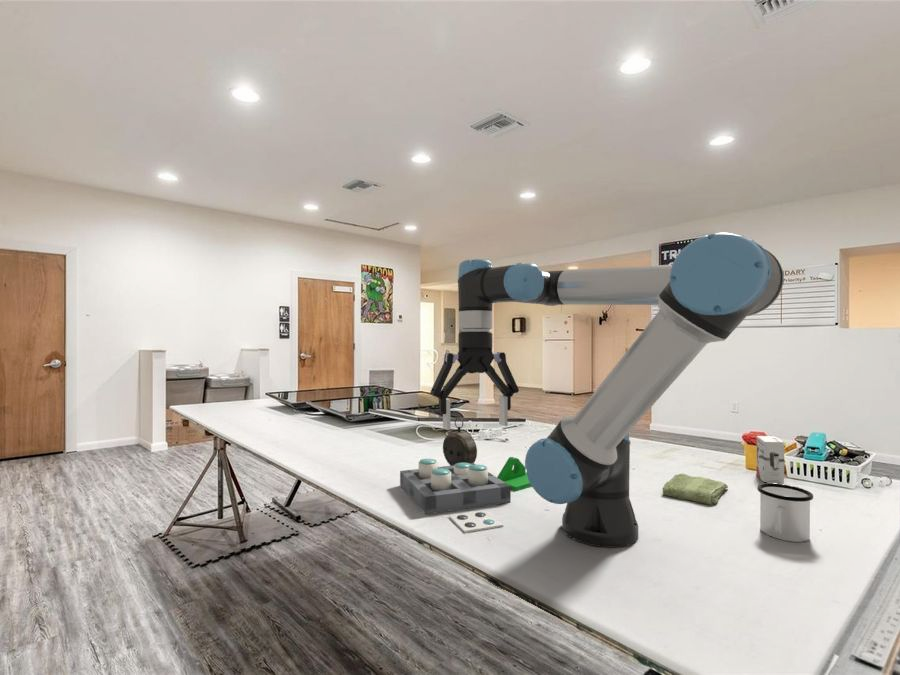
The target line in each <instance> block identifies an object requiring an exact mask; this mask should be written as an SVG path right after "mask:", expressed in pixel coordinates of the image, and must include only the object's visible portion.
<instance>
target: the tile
mask: <svg viewBox="0 0 900 675" xmlns="http://www.w3.org/2000/svg"><path fill="white" fill-rule="evenodd" d="M448 517H449V519H450V520H451V521H453V523H455V525H456V526H457V527H458V528H459V529H460V530H461V531H462V532H463V533H465V534H467V533H471V532H472V533H473V532H478V531H486V530H491V529H498V528H502V527H504V524H503V523H502V522H501V521H499V520H498V519H497V518H496V517H494V515H492V514H491V513H489V512H488V511H487V510H486V509H485V510H477V511H471V512H469V511H468V512H464V513H458V514H457V513H455V514H449V515H448Z"/></svg>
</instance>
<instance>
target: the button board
mask: <svg viewBox="0 0 900 675" xmlns="http://www.w3.org/2000/svg"><path fill="white" fill-rule="evenodd" d="M471 465H477V464H476V463H475V462H474V463H472V464H471ZM439 468H443V469H448V470H450V472H451V490H443V491H435V492H434V491H432V490H431V478H430V479H419V468H417V469H406V470H400V471H399V486H400V487H401V489H402V490H404V492H405V493H406V494H407V496H409V497H410V499H411V501H413V503H415V504H416V505H417V507H418V508H419V509H420V510H421V511H422V512H423V514H424V515H430V514H436V513H443V512H450V511H451V512H452V511H458V510H464V509H465V510H466V509H472V508H479V507H486V506H493V505H501V504H508V503H511V501H512V500H511V493H512V491H511V486H510V485H508V484H507V483H505V482H503V481H502V480H500V479H499V478H497V476H495V475H494V474H492V473H490V472H489V471H488V485H483V486H475V487H471V486H469V485H468V474H466V475H457V476H456V475H455V474H454V465H452V466H450V465H446V466H443V465H442V466H438V469H439Z"/></svg>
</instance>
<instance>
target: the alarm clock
mask: <svg viewBox="0 0 900 675" xmlns="http://www.w3.org/2000/svg"><path fill="white" fill-rule="evenodd" d="M457 420H460V421H461V423H462V424H461V426H457V424H456V421H457ZM454 426H455V428H456V429H457V431H453V432H450V433H449V434H447V435H446V436H445V437H444V440H443V444H442V452H443V456H444V458H445V460H446V462H447V463H448V465H449V466H452V465H455V464H456V463H469V464H472V463H475V462H476V459H477V457H478V448H477V447H478V446H477V444H476V442H475V439H474V438H473V436H472V435H471V434H470V433H469V432H467V431H466V430H462V428H463V426H464V420H463V419H462V418H461V417H456V418H455V420H454Z"/></svg>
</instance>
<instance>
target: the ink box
mask: <svg viewBox="0 0 900 675" xmlns="http://www.w3.org/2000/svg"><path fill="white" fill-rule="evenodd" d="M785 444H786V443H785V441H784V440H781V438H779V437H777V436H773V435H770V436H769V435H768V436H767V435H756V476H757V475H758V476H759V477H760V478H761V479H762V480H763V481H764V482H767V483H777V484H784V485H785ZM758 476H757V477H758ZM759 477H758V478H759ZM760 478H759V479H760ZM761 479H760V480H761ZM762 480H761V481H762ZM763 481H762V482H763ZM764 482H763V483H764Z"/></svg>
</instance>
